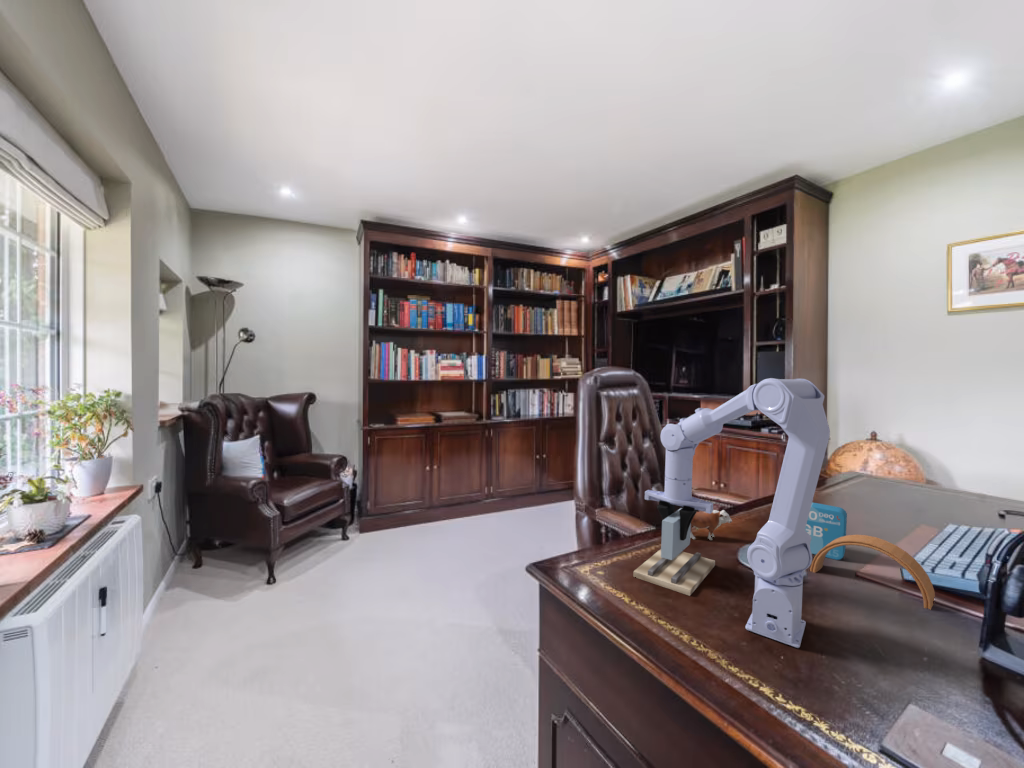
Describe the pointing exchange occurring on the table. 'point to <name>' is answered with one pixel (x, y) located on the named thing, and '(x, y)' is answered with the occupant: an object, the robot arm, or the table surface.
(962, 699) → the table surface
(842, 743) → the table surface
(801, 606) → the robot arm
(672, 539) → the grey rectangular block
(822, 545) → the data package
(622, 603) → the table surface
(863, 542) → the arch
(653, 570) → the track board
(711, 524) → the bull figurine
